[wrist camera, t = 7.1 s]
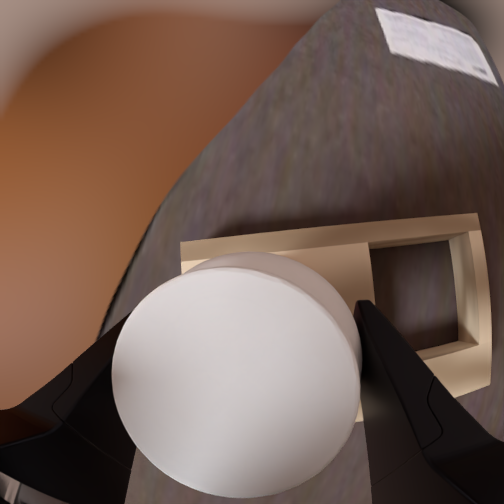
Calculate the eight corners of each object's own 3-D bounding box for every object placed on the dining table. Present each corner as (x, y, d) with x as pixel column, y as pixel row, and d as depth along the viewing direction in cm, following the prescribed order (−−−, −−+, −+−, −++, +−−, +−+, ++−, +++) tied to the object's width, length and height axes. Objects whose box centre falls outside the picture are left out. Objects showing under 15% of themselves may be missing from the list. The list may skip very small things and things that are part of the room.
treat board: (469, 376, 17) (492, 385, 14) (209, 415, 19) (196, 432, 16) (457, 223, 19) (479, 211, 16) (195, 250, 21) (178, 241, 18)
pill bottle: (206, 281, 16) (72, 238, 6) (320, 269, 16) (382, 197, 5) (217, 392, 15) (112, 502, 4) (331, 383, 15) (394, 504, 4)
